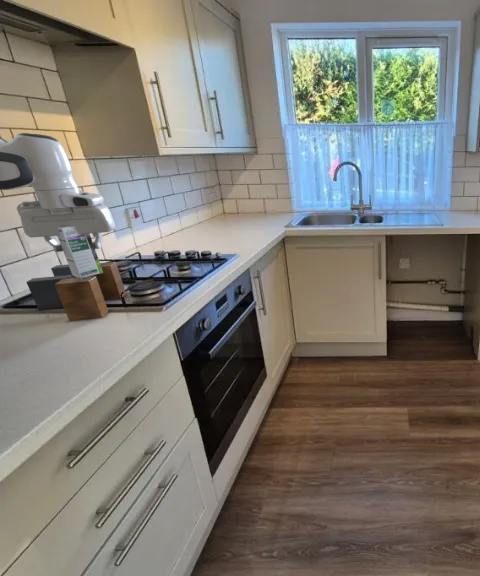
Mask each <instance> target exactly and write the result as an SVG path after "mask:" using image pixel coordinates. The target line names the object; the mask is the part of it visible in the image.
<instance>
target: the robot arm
mask: <svg viewBox="0 0 480 576" xmlns="http://www.w3.org/2000/svg"><path fill="white" fill-rule="evenodd" d="M24 188H33V190H34V193H35V195H36V199H37V200H33V201H21V202H20V203H19V204H18V205H17V207H16V211H17V213H18V216H19V217H20V221H21V226H22V230H23V232H24V235H26V236H27V237H28V238H31V239H32V238H44V241H45V242H46V243H48V244H49V245H50V246H51V247H52V248H53V250H54V253H61V252H63V249H62V247H61V244H60V243H58V242H57V241H56V240H55V239H56V237H57V236H60V233H59V231H58V226H75V228H76V230H77V232H78V233H79V234H89V233H90V234H92V237H93V238H95V239H94V241H92V242H93V243H91V244H92V246H93V249H95V250H100V249H102V244H101V241H102V238H103V234H104V233H111V232H113V231H114V230H115V228H116V222H115V220H114V217H113V213H111V210H110V208H109V207H108V206H107V205H106V204H104V202H105V200H104V197H103V195H101V194H96V193H93V192H87V191H83V190H80V189H79V185H78V184H77V182H76V181H75V179H74V177H73V168H72V164H71V162H70V160H69V157H68V155H67V153H66V150H65V148H64V147H63V145H62V143H61V142H60V141H59V140H58V139H56V138H55V137H53V136H51V135H46V134H39V133H38V134H37V133H30V132H29V133H28V132H21V133H18V134H16V135H15V137H13V138H12V139H10V140H9V141H7V140H5V139H4V138H2V137H0V190H1V191H13V190H19V189H24Z"/></svg>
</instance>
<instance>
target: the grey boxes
mask: <svg viewBox="0 0 480 576" xmlns="http://www.w3.org/2000/svg"><path fill="white" fill-rule="evenodd" d="M50 270H51V273H52V275H53V276H44V277H34V278H33V277H32V278H31V279H29V280H27V281H26V282H25V283H26V285H27V288H28V289H29V292H30V294H31V296H32V298H33V301H34V303H35V305H36V307H37V310H38V311H43V310H44V311H45V310H51V309H62V308H63V309H64V307H63V304H62V302H61V299H60V297H59V294H58V292H57V290H56V287H55V285H54V284H56V283H57V282H59V281H61V280H62V279H70V278H77V277H75V276H73V275H72V273H71V270H70V267H69V265H68V264H58V265H54V266H53V267H51V268H50Z"/></svg>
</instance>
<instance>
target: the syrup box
mask: <svg viewBox="0 0 480 576" xmlns="http://www.w3.org/2000/svg"><path fill="white" fill-rule="evenodd" d="M58 231H59V233H60V236H56V237H57V239H58V241H59V244H61V247H62V249H63V251H62V252H63V254H64V257H65V259H66V263H67V265H69V267H70V270H71V273H72V275H73V276H75V277H77V278H81V277H89V276H92V275H96V274H100V273H103V270H102V268H101V265H100V263H101V262H100V259H99V257H98V253H97V251H96V249H93V246H92V244H91V243H93V242H94V241H93V239H92V237H91V233H89V234H79V233H78V232H77V230H76V228H75V226H58Z"/></svg>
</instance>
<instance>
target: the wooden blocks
mask: <svg viewBox="0 0 480 576" xmlns="http://www.w3.org/2000/svg"><path fill="white" fill-rule="evenodd" d="M100 265H101V268H102V270H103V273H100V274H96V275H92V276H89V277H81V278H70V279H62V280H61V281H59V282H57V283H56V284H54V285H55V287H56V290H57V292H58V294H59V297H60V299H61V302H62V304H63V309H64V311H65V314H66V316H67V319H68V322H75V321H83V320H91V319H100V318H103V317H104V316H106V314H108V313H109V309H108V307H107V306H108V305H107V303H106V302H107V301H115V300H122V299H123V298H124V297H125V296H126V295H127V292H126V289H125V286H124V283H123V280H122V277H121V273H120V270H119V268H118V264H117V262H116V261H109V262H108V261H107V262H100ZM122 292H124V293H123V294H122V297H123V298H121V296H120V295H121V293H122Z"/></svg>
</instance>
